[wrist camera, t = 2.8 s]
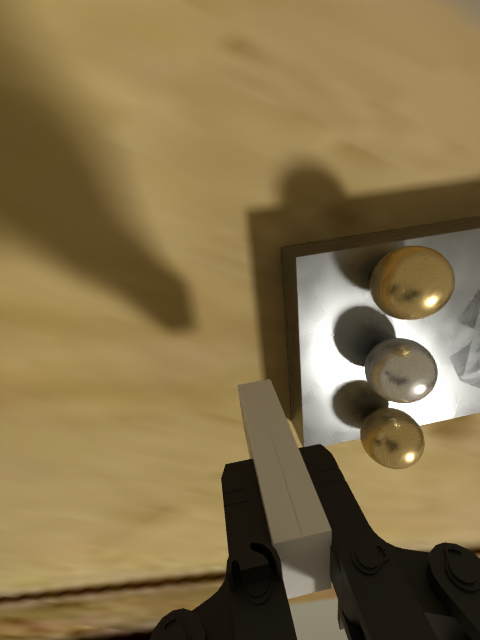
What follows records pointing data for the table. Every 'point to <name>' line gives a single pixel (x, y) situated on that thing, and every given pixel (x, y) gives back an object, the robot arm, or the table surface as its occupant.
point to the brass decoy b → (412, 283)
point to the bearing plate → (375, 330)
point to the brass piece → (392, 438)
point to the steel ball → (400, 370)
